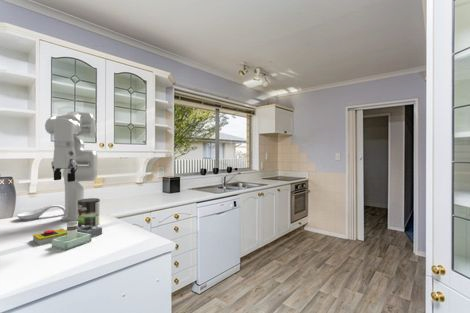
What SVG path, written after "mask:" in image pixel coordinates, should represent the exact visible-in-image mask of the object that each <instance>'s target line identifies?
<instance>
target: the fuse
mask: <svg viewBox="0 0 470 313" xmlns="http://www.w3.org/2000/svg"><path fill="white" fill-rule="evenodd" d="M77 228H78V220H73V221H66V231H67V242H68V241H71V240H74V239H77Z"/></svg>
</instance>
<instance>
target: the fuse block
mask: <svg viewBox="0 0 470 313" xmlns="http://www.w3.org/2000/svg"><path fill="white" fill-rule="evenodd" d="M77 232H81V233H86V234H91V238H94V237H96V236H100V235H102V234H103V227H101V226H90V225H87V226H85V225H82V226H81V227H80V228H78V227H77Z"/></svg>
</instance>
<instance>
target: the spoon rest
mask: <svg viewBox="0 0 470 313" xmlns="http://www.w3.org/2000/svg"><path fill="white" fill-rule="evenodd" d="M51 208H59V209H61V210H62V211H63V214H64V216H65V206H63V205H59V204H49V205H47V206H44V207H41V208H37V209H34V210H29V211H24V212H21V213H18V214H17V215H16V216H17V218H18V219H20V220H22V221H32V220H36V219H37V220H38V218H39V217H41V216H43V214H44V213H46V212H47V211H49V210H50V209H51Z"/></svg>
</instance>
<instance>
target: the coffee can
mask: <svg viewBox="0 0 470 313" xmlns="http://www.w3.org/2000/svg"><path fill="white" fill-rule="evenodd" d="M100 201H101V199H100V198H97V197H96V198H94V197H91V198H90V197H89V198H84V199H81V200H78V220H77V228H80V227H81V226H82V225H85V226H87V225H90V226H96V227H99V226H100ZM98 225H99V226H98Z"/></svg>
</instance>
